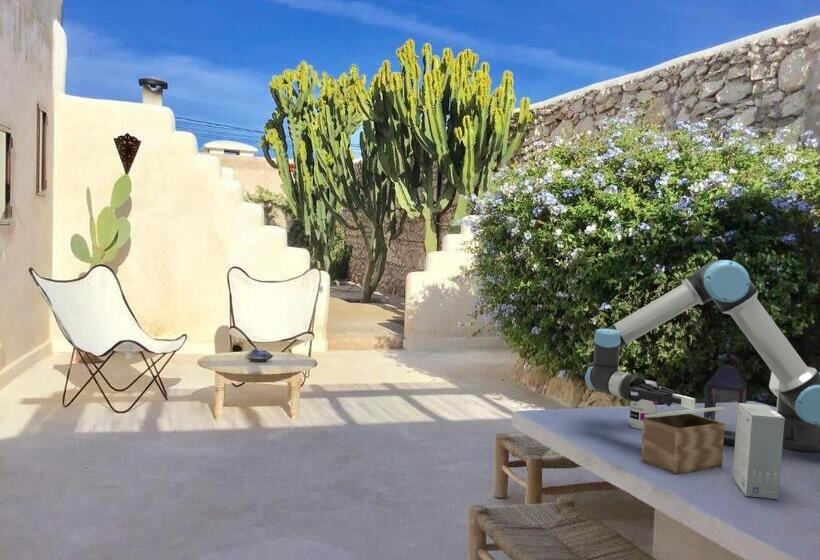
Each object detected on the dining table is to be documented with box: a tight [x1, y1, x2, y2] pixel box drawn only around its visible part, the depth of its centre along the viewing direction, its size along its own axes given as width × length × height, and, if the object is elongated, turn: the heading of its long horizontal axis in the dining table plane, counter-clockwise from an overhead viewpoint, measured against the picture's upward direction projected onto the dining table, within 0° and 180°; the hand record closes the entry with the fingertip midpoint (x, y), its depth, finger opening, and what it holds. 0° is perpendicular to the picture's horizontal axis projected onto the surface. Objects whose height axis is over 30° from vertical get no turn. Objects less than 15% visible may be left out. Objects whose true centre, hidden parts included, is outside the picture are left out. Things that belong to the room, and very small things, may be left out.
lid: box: [645, 406, 725, 418], centre depth 204 cm, size 18×12×1 cm
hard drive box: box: [732, 402, 785, 500], centre depth 186 cm, size 16×8×20 cm, turn 168°
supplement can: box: [629, 379, 658, 431], centre depth 244 cm, size 8×8×15 cm
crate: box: [640, 413, 726, 476], centre depth 204 cm, size 18×12×12 cm
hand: (693, 403), depth 200 cm, fingers closed
